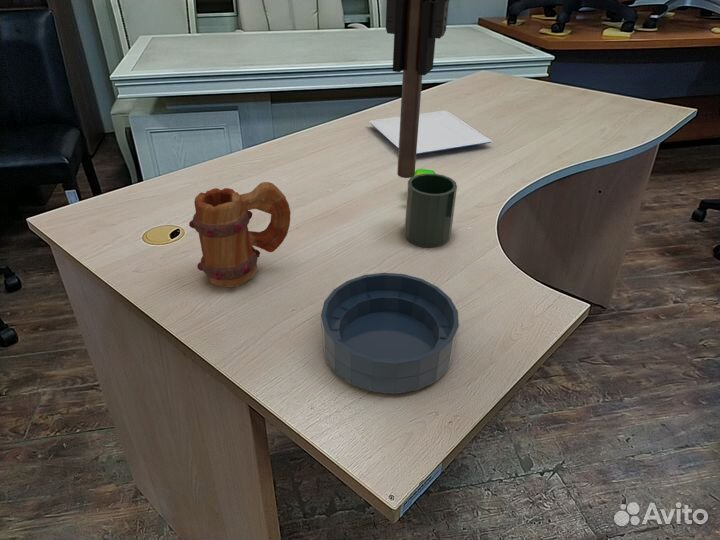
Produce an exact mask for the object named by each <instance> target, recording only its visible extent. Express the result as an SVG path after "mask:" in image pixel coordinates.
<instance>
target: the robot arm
mask: <svg viewBox="0 0 720 540" xmlns="http://www.w3.org/2000/svg"><path fill="white" fill-rule="evenodd" d="M450 1H451V0H426V1H424V2H423V6H422V20H421V34H420V48H419V62H418V75H422V76H426V75H428V73H429V72H431V71H432V70H433V69H434V62H435V61H434V58H435V48H436V39H439V40H440V39H441V38H442V37H444V36H445V33H446V32H447V25H448V13H449V6H450V5H449V4H450ZM385 5H386V6H385V8H386V9H385V31H386V33H387V34H390V35H391V34H392V35H393V53H392V54H393V55H392V72H395V73H400V72H403V62H404V44H405V27H406V9H407V0H386V4H385Z"/></svg>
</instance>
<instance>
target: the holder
mask: <svg viewBox="0 0 720 540" xmlns="http://www.w3.org/2000/svg"><path fill="white" fill-rule="evenodd" d="M409 179H410V180H409ZM409 179H408V180H407V189H406V202H405V204H406V205H405V216H404V217H405V219H404V238H405V239H406V241H408V242H409V243H411V244H412V245H414V246H416V247H420V248H427V249H428V248H429V249H430V248H431V249H433V248H439V247H442V246H445V245H447V243H449V241H451V240H450V239H451V235H452V231H453V230H452V229H453V222H454V214H455V206H456V199H457V198H456V197H457V191H458V184H457V181H455V180H454V179H453V178H451V177H449V176H446V175H443V174H439V173H435V174H427V173H426V174H420V175H416V176H414V177H411V178H409Z"/></svg>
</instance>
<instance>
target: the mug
mask: <svg viewBox="0 0 720 540" xmlns="http://www.w3.org/2000/svg"><path fill="white" fill-rule="evenodd" d="M286 197H287V196H286V195H285V194H284V193H283V192H282V191H281V189H279V187H277V185H275V184H274V183H272V182H270V181H264V182H260V183H258V185H256V187H254V189H252V190H251V191H250V192H246V193H241V194H240V193H238V192H237V191H235V190H234V189H233V188H230V187H224V188H223V189H220V188H216V187H215V188H212V189H209V190H207V191H205V192H199V193H198V194H197V195H196V197H195V198H194V209H195V213H194V214H193V217H192V219H191V220H190V221H189V223H188V224H189V225H188V226H189V227H190V228H191V229H194V230H195V231H196V233H198V237H199V242H200V247H201V253H202V257H201V258H200V262H198V264H197V265H196V267H197V270H199V271H201V272H203V273H204V275H206V277H207V278H208V281H209V282H210V283H211V284H213V285H215V286H217V287H222V288H233V287H237V286H242V285H243V284H246V283H247V282H249V281H250V280H251V278H253V276H254V275H255V274H256V273H257V272H258V263H257V262H258V259H259V258H260V256H261V252H260V251H259V250H258V249H256V248H259V249H261V250H263V251H265V252H268V253H273V252H275V251H276V250H277V249H278V248H279V247H280V246H281V245H282V244H283V242H284V240H285V239H286V237H287V236H288V232H289V230H290V225H291V208H290V203H289V202H288V200H287V198H286ZM252 210H258V211H261V212H264V213H266V214H270V222H269V223H268V225H267V227H266V228H265V229H264V230H262V231H261V230H260V231H255V230H254V231H253V230H249V226H248V225H249V223H250V220H251V219H252V218H253V212H252ZM254 247H256V248H254Z"/></svg>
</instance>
